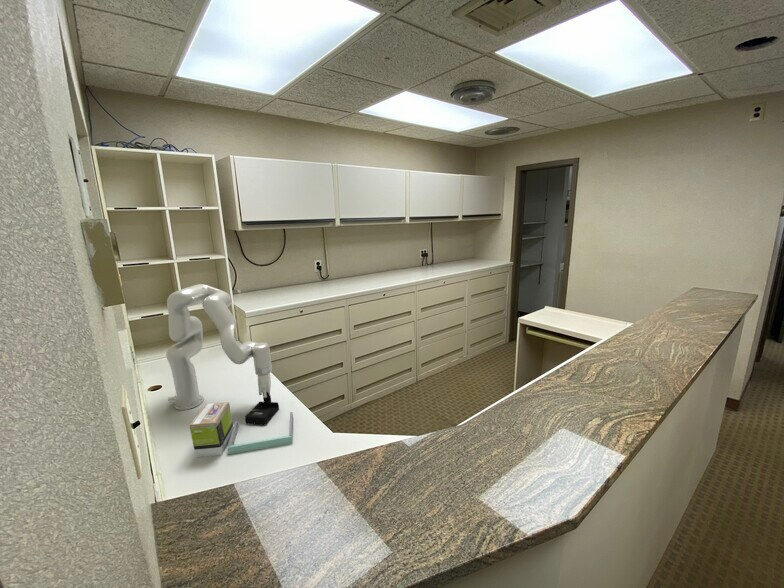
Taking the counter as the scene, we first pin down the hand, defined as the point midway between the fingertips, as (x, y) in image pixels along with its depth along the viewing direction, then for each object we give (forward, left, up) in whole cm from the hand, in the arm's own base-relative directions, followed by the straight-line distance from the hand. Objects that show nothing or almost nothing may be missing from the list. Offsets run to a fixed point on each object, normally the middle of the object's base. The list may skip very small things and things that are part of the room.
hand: (267, 404), depth 170 cm
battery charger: (-2, -9, -2) cm, 9 cm away
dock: (0, -23, -1) cm, 23 cm away
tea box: (-18, -24, -1) cm, 30 cm away
